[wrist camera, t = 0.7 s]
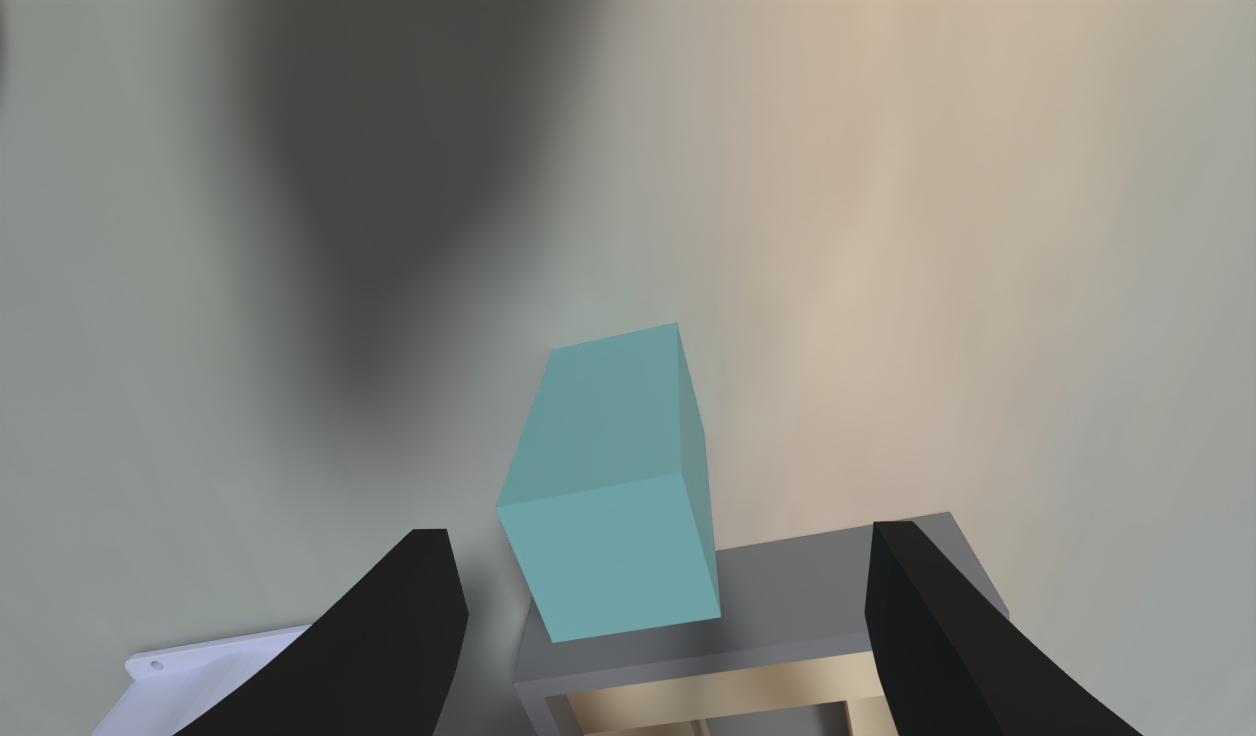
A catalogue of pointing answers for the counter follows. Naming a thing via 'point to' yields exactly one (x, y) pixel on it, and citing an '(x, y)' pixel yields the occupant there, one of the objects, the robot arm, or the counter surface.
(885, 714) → the beige frame
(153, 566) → the counter surface
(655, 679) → the box
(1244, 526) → the counter surface
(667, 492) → the peg
